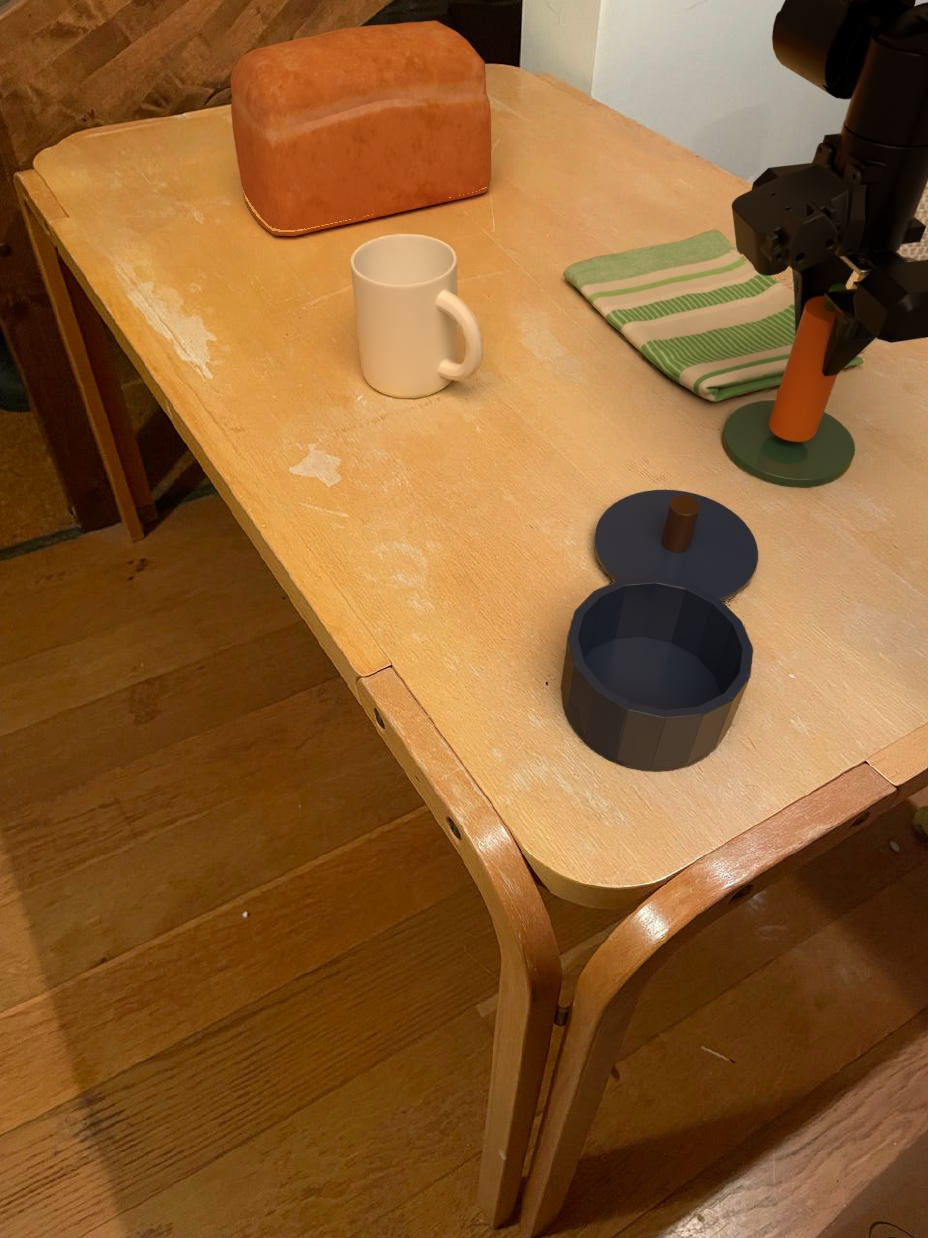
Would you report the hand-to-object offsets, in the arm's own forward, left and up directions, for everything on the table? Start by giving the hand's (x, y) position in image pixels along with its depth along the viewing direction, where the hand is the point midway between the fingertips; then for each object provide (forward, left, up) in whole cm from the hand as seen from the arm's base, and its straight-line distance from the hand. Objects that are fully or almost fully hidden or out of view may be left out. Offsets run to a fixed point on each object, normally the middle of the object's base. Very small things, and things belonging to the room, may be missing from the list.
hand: (815, 359), depth 64 cm
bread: (+47, -33, -8) cm, 58 cm away
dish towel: (+8, -17, -8) cm, 20 cm away
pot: (+7, +27, -8) cm, 29 cm away
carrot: (0, 0, -6) cm, 6 cm away
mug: (+30, -1, -8) cm, 31 cm away
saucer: (0, 0, -8) cm, 8 cm away
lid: (+7, +14, -7) cm, 18 cm away
